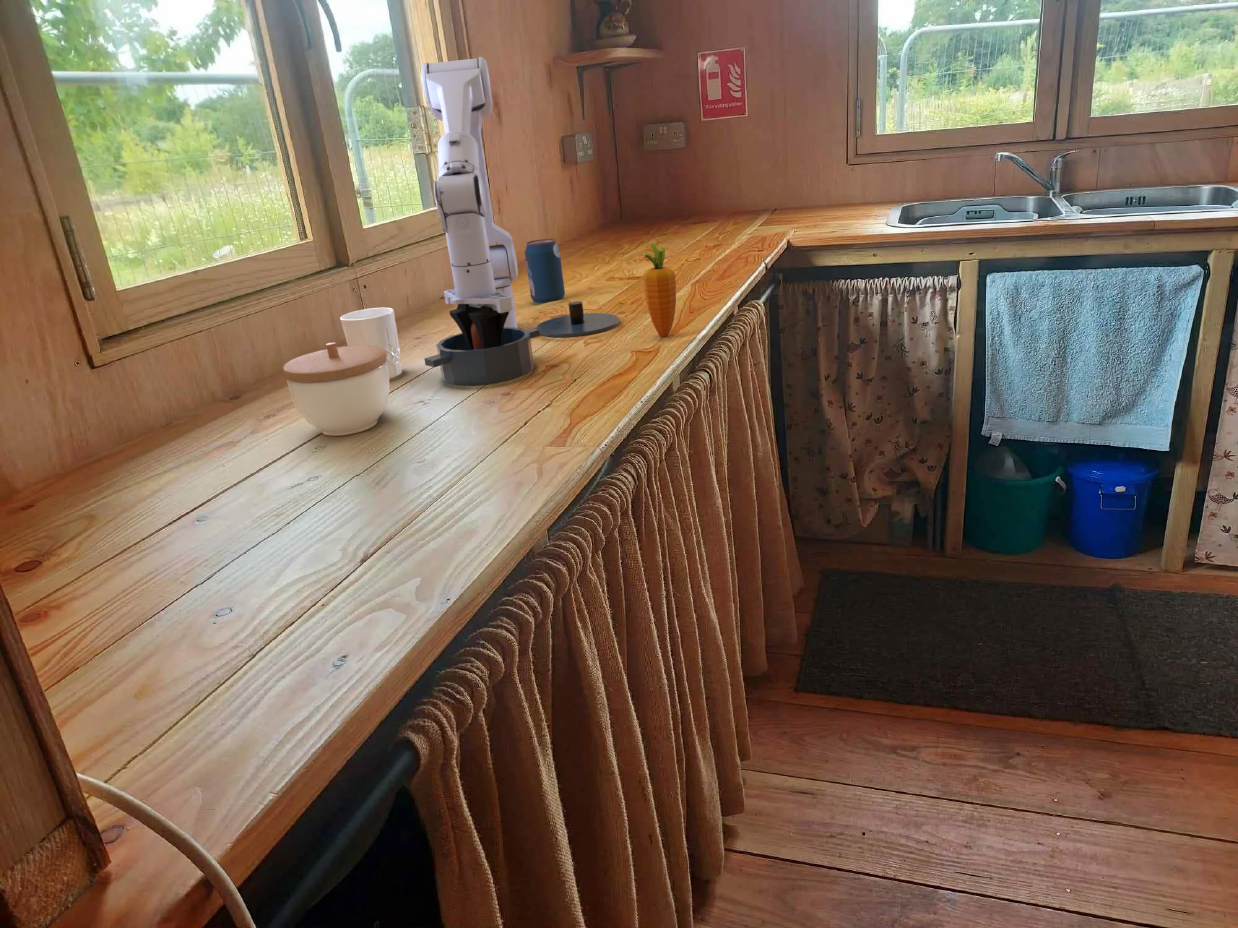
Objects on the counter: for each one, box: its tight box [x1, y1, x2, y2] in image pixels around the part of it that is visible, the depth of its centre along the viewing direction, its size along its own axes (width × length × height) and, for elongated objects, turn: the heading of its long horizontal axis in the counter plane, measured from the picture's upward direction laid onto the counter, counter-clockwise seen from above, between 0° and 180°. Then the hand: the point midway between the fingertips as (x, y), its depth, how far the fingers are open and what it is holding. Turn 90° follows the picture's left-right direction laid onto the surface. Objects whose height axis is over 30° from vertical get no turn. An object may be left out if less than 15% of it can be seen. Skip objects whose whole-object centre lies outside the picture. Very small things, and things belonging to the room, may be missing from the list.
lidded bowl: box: [282, 341, 390, 437], centre depth 111 cm, size 13×13×11 cm
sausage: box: [471, 323, 483, 350], centre depth 128 cm, size 3×3×8 cm
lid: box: [535, 300, 621, 338], centre depth 150 cm, size 14×14×5 cm
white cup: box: [339, 307, 403, 379], centre depth 132 cm, size 8×8×10 cm
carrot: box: [642, 242, 677, 339], centre depth 136 cm, size 5×5×15 cm
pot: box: [424, 327, 541, 387], centre depth 129 cm, size 13×19×6 cm
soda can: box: [524, 238, 566, 306], centre depth 174 cm, size 7×7×12 cm
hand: (485, 356), depth 129 cm, fingers closed on sausage, 3 cm apart
